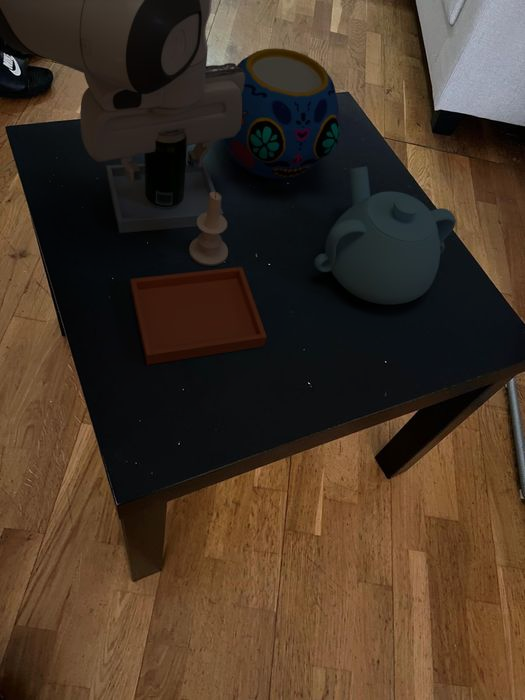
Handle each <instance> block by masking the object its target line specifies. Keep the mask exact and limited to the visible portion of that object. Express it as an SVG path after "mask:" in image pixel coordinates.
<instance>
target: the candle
mask: <svg viewBox="0 0 525 700" xmlns="http://www.w3.org/2000/svg"><path fill="white" fill-rule="evenodd" d="M209 195H210V196H209V201H208V208H207V212H206V213H203V214H201V215H200V216H199V217H198V219H197V227H198V229H199V230H200V231H201V232H200V233H199V235H198V236H197V237H195V238H194V239H193V240H191V242H190V244H189V249H188V252H189V255H190V257H191V259H192V260H193V261H194V262H195V263H197V264H198V265H202V266H204V267H216V266H221V264H223V263H225V261H226V260H227V258H228V256H229V248H228V246H227V243H225V242H224V241H223V238H222V236H221V235H220V234H222V233H224V232H225V231H226V230H227V228H228V221H227V219H226V218H225V217H224V215H223V216H222V215H220V209H221V208H222V196H221V194H220V193H219V192H217V191H216V192H210V194H209Z"/></svg>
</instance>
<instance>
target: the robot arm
mask: <svg viewBox="0 0 525 700" xmlns="http://www.w3.org/2000/svg"><path fill="white" fill-rule="evenodd" d="M212 3H213V1H212V0H0V39H2V41H3V42H4V43H5V44H6V45H8V46H9V47H10V48H11V49H13V50H15V51H17V52H20V53H24V54H27V55H30V56H34V57H38V58H41V59H43V60H48V61H49V60H50V61H52V62H55V63H57V64H59V65H62V66H64V67H67V68H69V69H73V70H74V71H77V72H80V73H82V74H83V76H84V79H85V82H86V84H87V86H88V87H87V88H86V89H85V91H84V92H83V94H82V96H81V101H80V119H79V121H80V134H81V135H80V136H81V140H82V145H83V146H84V148H85V151H86V152H87V154H88V155H89V156H90V157H91V158H92V159H93V160H94V161H95V162H97V163H103V162H107V161H108V162H109V161H112V160H113V161H114V160H119V162H120V164H121V165H123V166H124V167H125V173H126V176H127V178H128V180H129V182H132V181H136V180H140V179H141V177H140V175H141V170H140V168H139V167H138V166H137V164H138V163H137V161H133V157H135V156H139V155H145V153H151V152H155V149H156V139H157V138H158V136H159V135H158V133H159V132H162V133H165V132H166V131H172V130H177V129H178V131H180V130H181V129H183V128H185V131H184V132H185V133H186V135H187V139H186V146H187V147H188V146H193V145H194V148H193V150H188V151H187V157H186V162H188V164H189V166H190V167H191V169H194V168H200V167H202V163H203V161H204V158H205V157H206V155H207V154H208V152H209V151H210V149H211V148H212V147H213V141H219V140H223V139H226V138H231V137H234V136H236V134H237V133H238V132H239V131H240V129H241V123H242V96H241V94H242V92H243V89H244V83H245V74H244V71H243V70H242V68H240V67H238V66H237V64H236V63H234V62H227V63H224V64H211V65H207V63H208V50H209V47H208V46H209V45H208V40H207V34H206V33H207V32H206V30H207V24H208V21H209V18H210V16H211V11H212Z"/></svg>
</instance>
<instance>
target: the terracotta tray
mask: <svg viewBox="0 0 525 700" xmlns="http://www.w3.org/2000/svg"><path fill="white" fill-rule="evenodd" d="M245 274H246V273H245V271H244V268H243V266H236V267H226V268H220V269H218V268H217V269H209V270H200V271H191V272H182V273H173V274H165V275H163V274H162V275H157V276H156V275H155V276H154V275H153V276H146V277H145V276H144V277H135V278H130V292H131V297H132V301H133V306H134V311H135V315H136V320H137V326H138V329H139V333H140V334H139V335H140V338H141V345H142V348H143V353H144V358H145V363H146V366H148V365H156V364H161V363H168V362H174V361H180V360H186V359H192V358H199V357H206V356H213V355H218V354H226V353H232V352H237V351H238V352H239V351H245V350H251V349H256V348H263V347H265V344H266V340H267V333H266V330H265V327H264V325H263V322H262V319H261V317H260V313H259V310H258V308H257V305H256V302H255V300H254V297H253V294H252V291H251V288H250V285H249V283H248V280H247V276H246V275H245Z"/></svg>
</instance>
